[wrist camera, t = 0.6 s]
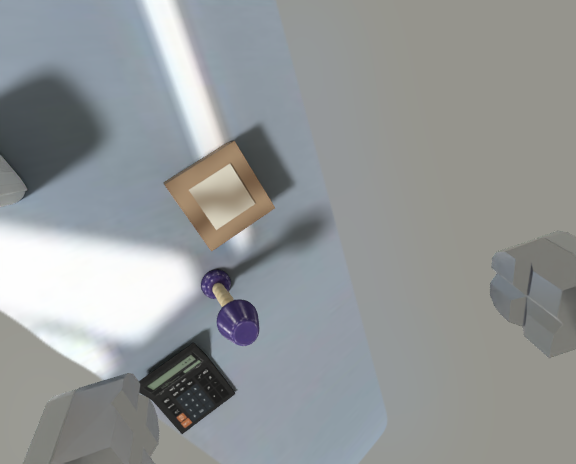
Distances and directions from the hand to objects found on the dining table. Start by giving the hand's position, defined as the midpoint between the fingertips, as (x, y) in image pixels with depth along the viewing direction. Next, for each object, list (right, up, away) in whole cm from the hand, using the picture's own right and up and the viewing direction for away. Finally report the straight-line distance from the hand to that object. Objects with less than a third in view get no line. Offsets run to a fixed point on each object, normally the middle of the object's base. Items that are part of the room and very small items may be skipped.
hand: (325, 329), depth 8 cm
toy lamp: (-11, -5, +46) cm, 48 cm away
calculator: (-16, -20, +47) cm, 54 cm away
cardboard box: (-11, +7, +44) cm, 46 cm away
